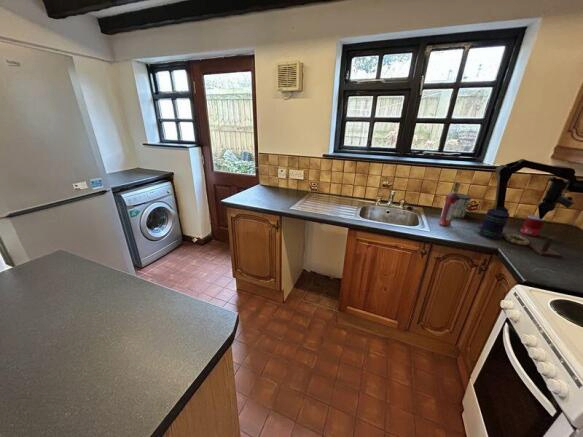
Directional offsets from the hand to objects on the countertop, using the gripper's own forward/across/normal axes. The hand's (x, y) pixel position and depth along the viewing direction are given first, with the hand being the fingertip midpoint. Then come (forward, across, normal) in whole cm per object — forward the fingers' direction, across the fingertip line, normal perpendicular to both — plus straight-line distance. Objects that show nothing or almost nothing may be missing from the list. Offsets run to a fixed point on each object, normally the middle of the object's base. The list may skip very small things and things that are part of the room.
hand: (541, 216), depth 136 cm
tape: (+12, -13, +5) cm, 19 cm away
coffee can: (+14, +1, +40) cm, 43 cm away
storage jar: (+14, -19, +16) cm, 28 cm away
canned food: (+14, +6, +2) cm, 15 cm away
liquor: (+14, -24, +38) cm, 48 cm away
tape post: (+13, -16, -7) cm, 22 cm away
